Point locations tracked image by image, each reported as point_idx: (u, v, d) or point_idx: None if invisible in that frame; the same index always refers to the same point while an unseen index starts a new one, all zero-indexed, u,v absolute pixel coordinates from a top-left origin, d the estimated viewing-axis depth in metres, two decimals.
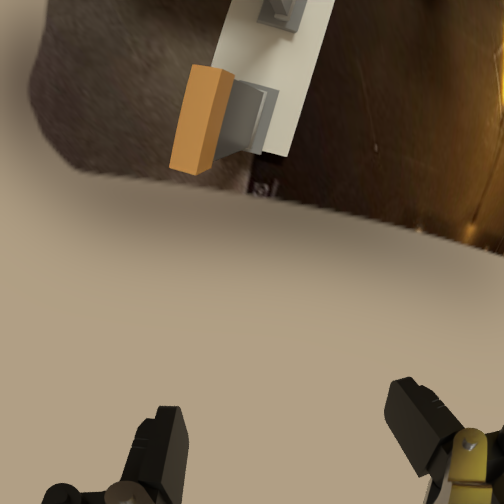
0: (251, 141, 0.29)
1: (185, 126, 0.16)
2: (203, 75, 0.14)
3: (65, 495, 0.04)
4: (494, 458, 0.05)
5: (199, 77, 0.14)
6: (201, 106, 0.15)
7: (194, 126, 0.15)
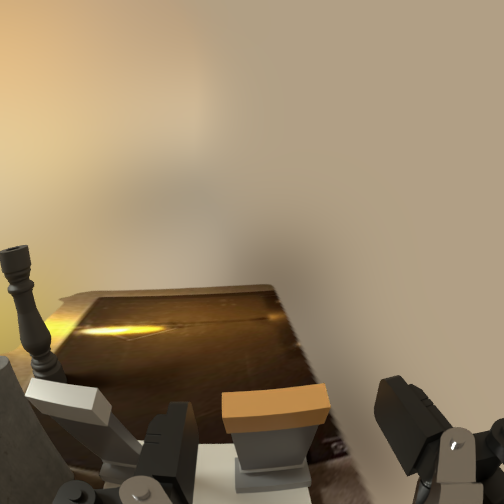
0: None
1: (285, 405, 0.16)
2: (231, 405, 0.16)
3: (79, 492, 0.04)
4: (482, 458, 0.05)
5: (234, 408, 0.16)
6: (261, 398, 0.16)
7: (282, 398, 0.16)
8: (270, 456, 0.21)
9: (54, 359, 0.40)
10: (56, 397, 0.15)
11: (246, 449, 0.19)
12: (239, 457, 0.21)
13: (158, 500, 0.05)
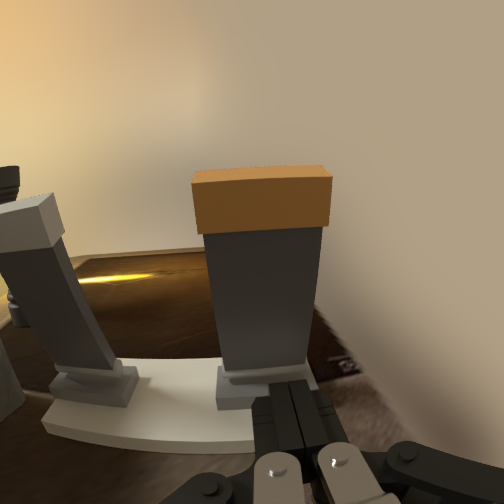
0: None
1: (273, 174, 0.13)
2: (205, 176, 0.14)
3: (214, 488, 0.05)
4: None
5: (208, 177, 0.13)
6: (243, 171, 0.14)
7: (270, 171, 0.14)
8: (261, 330, 0.19)
9: None
10: (5, 209, 0.13)
11: (227, 300, 0.17)
12: (219, 328, 0.18)
13: (299, 471, 0.06)
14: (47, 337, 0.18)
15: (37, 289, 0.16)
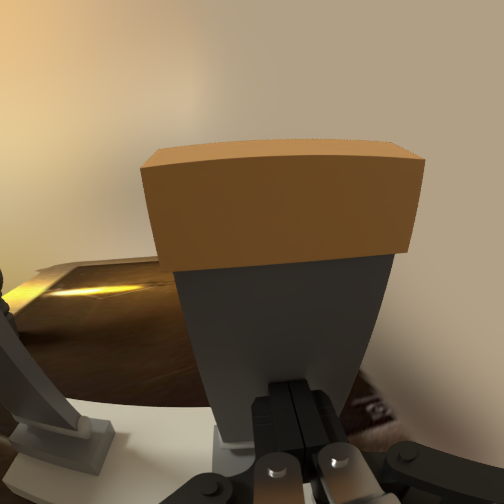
0: None
1: (315, 149, 0.06)
2: (173, 154, 0.06)
3: (214, 488, 0.05)
4: None
5: (178, 156, 0.06)
6: (252, 145, 0.07)
7: (304, 144, 0.07)
8: None
9: (4, 307, 0.30)
10: None
11: (224, 371, 0.10)
12: (212, 403, 0.11)
13: (299, 471, 0.06)
14: None
15: None
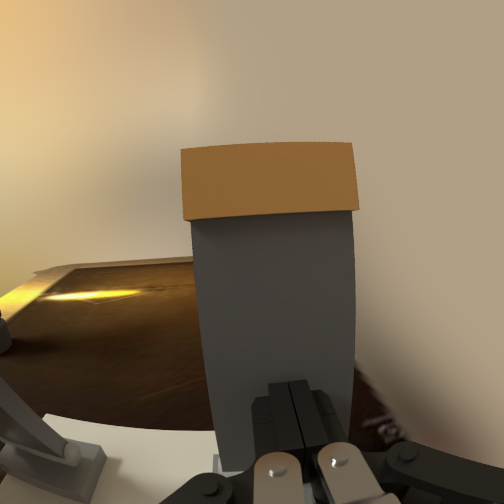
0: None
1: None
2: None
3: (214, 488, 0.05)
4: None
5: None
6: None
7: None
8: None
9: None
10: None
11: (224, 341, 0.11)
12: (212, 394, 0.11)
13: (299, 471, 0.06)
14: None
15: None
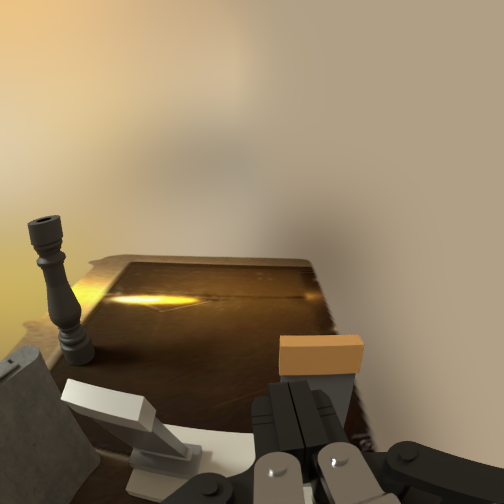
0: None
1: (329, 342, 0.21)
2: (287, 341, 0.22)
3: (214, 488, 0.05)
4: None
5: (290, 342, 0.22)
6: (311, 339, 0.22)
7: (327, 339, 0.22)
8: None
9: (83, 332, 0.43)
10: (97, 404, 0.16)
11: None
12: None
13: (299, 471, 0.06)
14: (131, 441, 0.22)
15: (129, 432, 0.19)
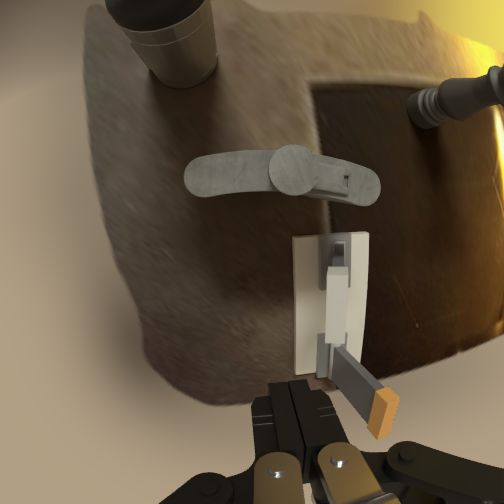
0: None
1: (384, 424, 0.27)
2: (392, 404, 0.27)
3: (214, 487, 0.05)
4: None
5: (390, 406, 0.27)
6: (391, 414, 0.27)
7: (388, 422, 0.27)
8: (345, 377, 0.37)
9: (444, 121, 0.33)
10: (331, 310, 0.24)
11: (357, 377, 0.33)
12: (349, 363, 0.36)
13: (299, 471, 0.06)
14: None
15: None
